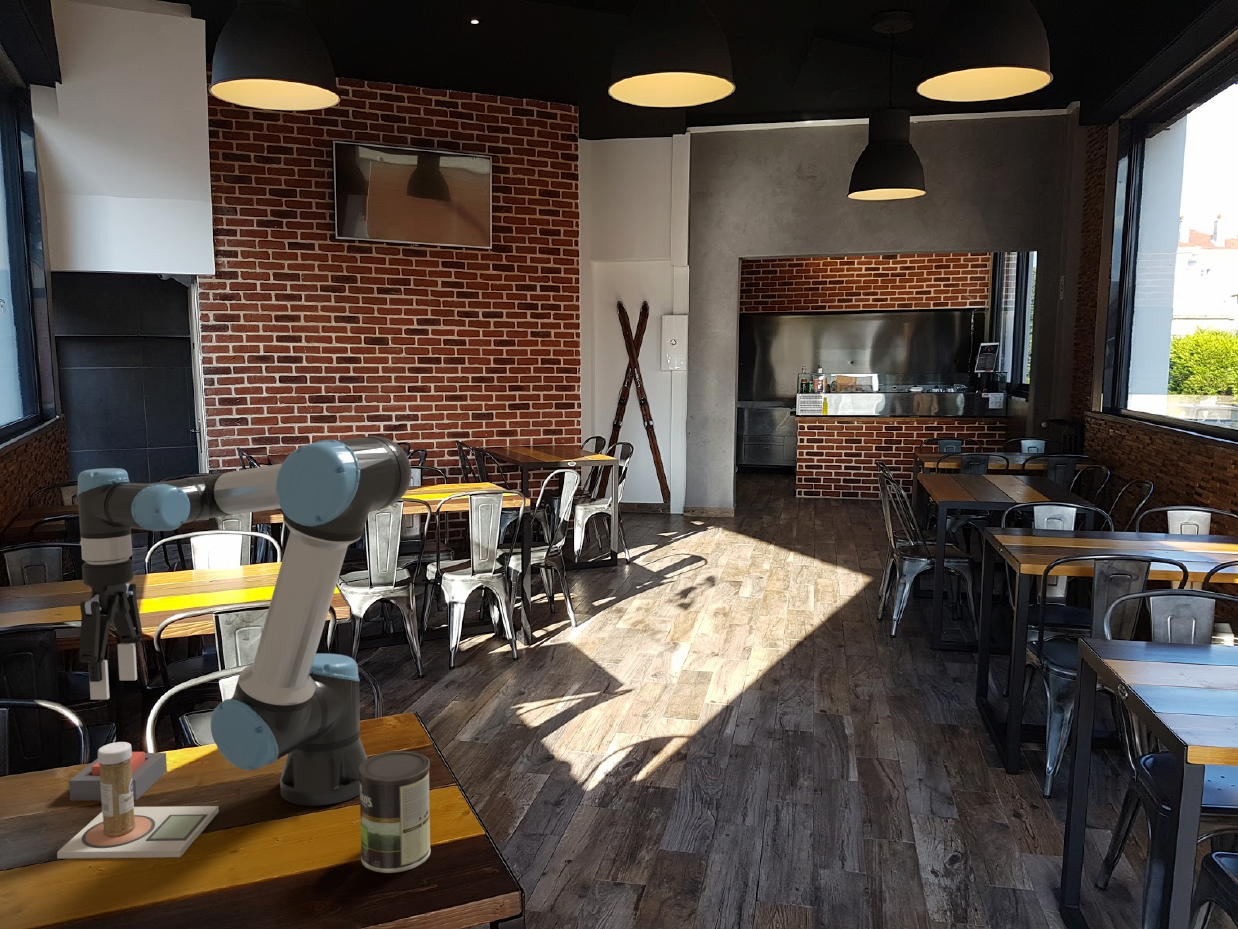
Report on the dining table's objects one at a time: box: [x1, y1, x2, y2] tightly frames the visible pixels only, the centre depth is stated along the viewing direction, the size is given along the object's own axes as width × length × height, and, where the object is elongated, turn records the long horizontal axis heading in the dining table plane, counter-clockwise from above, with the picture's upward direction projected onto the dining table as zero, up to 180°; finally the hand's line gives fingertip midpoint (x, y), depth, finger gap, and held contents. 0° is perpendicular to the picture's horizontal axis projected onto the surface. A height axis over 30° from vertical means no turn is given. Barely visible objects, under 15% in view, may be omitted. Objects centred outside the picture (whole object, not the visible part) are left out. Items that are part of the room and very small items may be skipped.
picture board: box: [56, 805, 220, 859], centre depth 143 cm, size 18×14×1 cm
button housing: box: [68, 752, 168, 802], centre depth 160 cm, size 11×11×4 cm
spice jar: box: [97, 741, 136, 836], centre depth 142 cm, size 5×5×14 cm
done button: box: [92, 751, 146, 775], centre depth 160 cm, size 6×6×3 cm
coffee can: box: [358, 750, 432, 874], centre depth 137 cm, size 10×10×14 cm
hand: (114, 688), depth 158 cm, fingers open, 9 cm apart
